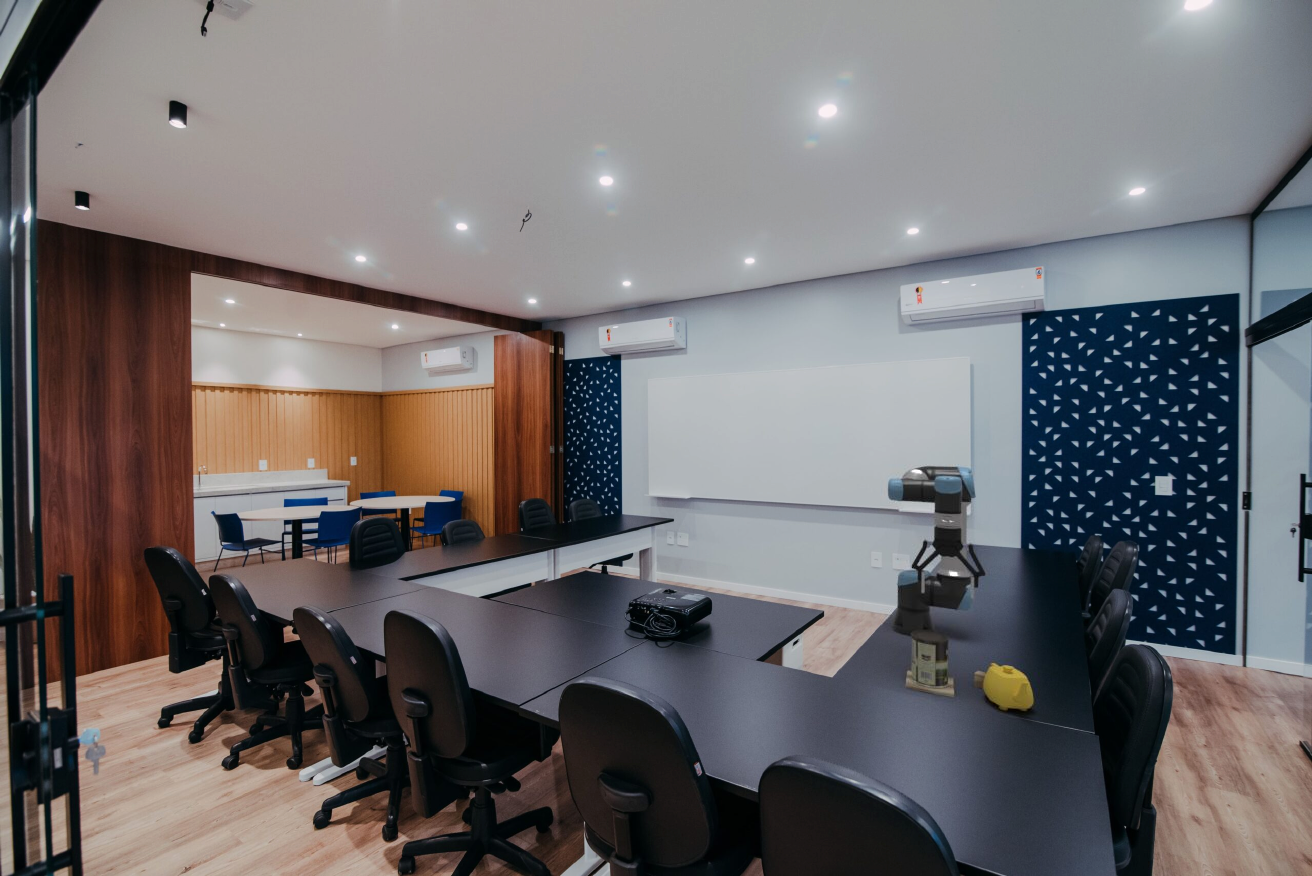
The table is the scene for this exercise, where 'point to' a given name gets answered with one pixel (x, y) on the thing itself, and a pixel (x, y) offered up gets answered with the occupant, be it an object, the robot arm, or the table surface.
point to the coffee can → (930, 659)
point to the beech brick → (979, 679)
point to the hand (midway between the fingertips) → (947, 594)
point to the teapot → (1008, 688)
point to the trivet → (943, 691)
